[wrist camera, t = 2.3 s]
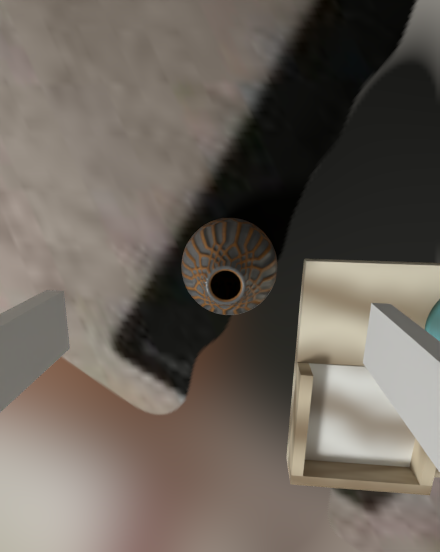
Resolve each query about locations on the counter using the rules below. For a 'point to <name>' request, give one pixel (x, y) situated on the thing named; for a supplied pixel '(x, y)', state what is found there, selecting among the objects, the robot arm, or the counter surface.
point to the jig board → (355, 378)
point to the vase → (229, 266)
